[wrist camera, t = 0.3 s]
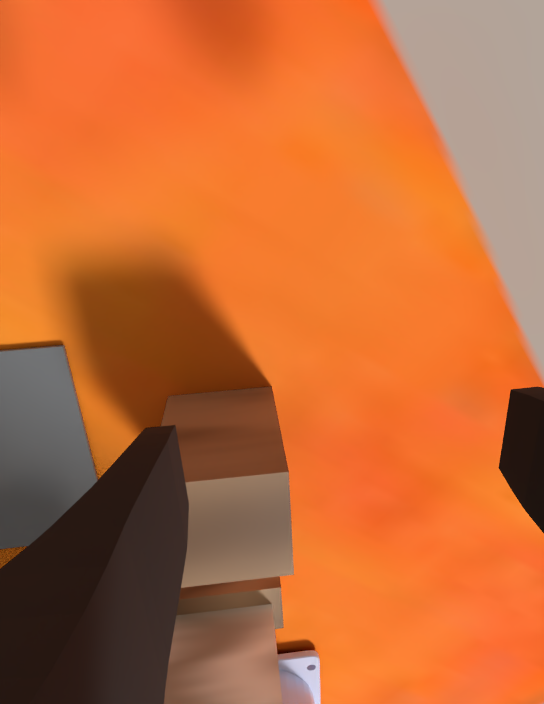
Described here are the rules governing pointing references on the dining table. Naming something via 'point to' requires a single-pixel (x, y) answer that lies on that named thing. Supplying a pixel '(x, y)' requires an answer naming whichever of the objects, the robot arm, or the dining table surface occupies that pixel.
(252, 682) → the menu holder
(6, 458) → the coaster
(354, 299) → the dining table surface
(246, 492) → the walnut block
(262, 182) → the dining table surface
